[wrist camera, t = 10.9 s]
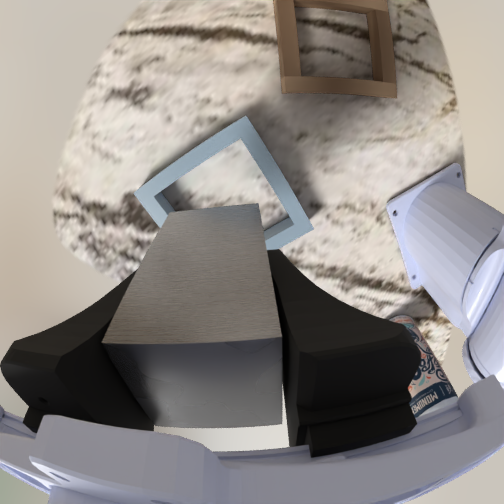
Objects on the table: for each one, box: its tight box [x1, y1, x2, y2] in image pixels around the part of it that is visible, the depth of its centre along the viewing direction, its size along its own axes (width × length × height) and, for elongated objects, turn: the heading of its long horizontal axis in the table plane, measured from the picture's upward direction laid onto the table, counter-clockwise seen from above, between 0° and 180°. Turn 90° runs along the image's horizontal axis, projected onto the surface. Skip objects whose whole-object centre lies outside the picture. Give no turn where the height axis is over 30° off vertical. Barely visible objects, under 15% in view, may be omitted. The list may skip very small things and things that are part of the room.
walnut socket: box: [273, 0, 397, 98], centre depth 14 cm, size 7×7×2 cm
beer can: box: [390, 315, 459, 418], centre depth 21 cm, size 5×5×12 cm
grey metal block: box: [102, 203, 282, 428], centre depth 10 cm, size 4×4×8 cm
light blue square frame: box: [134, 115, 314, 250], centre depth 19 cm, size 9×9×2 cm
